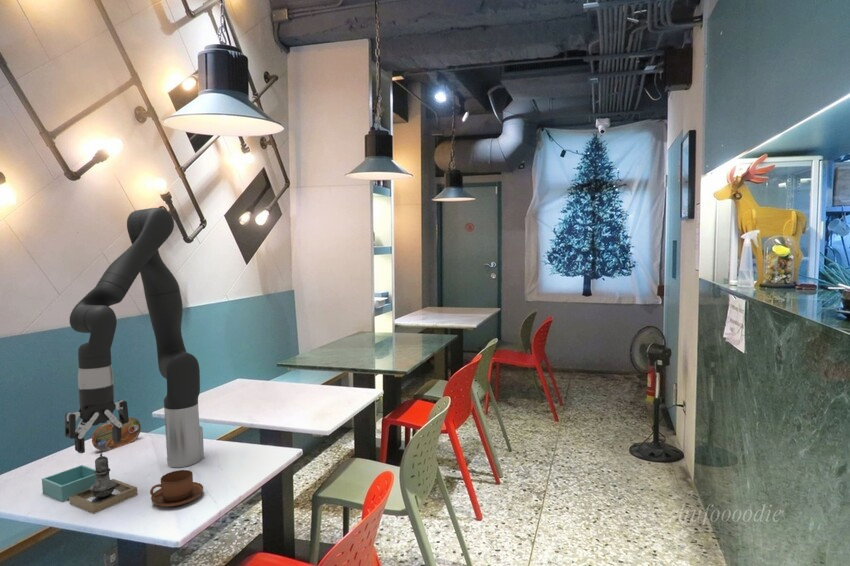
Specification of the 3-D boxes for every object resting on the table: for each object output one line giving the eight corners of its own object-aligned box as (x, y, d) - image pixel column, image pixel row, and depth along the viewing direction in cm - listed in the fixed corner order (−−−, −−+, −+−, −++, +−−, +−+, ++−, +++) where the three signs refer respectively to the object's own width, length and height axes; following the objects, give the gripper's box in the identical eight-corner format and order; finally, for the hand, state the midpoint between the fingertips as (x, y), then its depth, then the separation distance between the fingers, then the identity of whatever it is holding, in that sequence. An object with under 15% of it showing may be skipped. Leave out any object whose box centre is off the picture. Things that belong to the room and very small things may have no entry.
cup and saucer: (169, 515, 126) (168, 490, 125) (141, 503, 132) (140, 480, 132) (213, 495, 136) (212, 472, 135) (185, 485, 142) (184, 462, 142)
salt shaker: (104, 505, 131) (101, 458, 130) (84, 503, 132) (81, 457, 132) (122, 494, 137) (119, 449, 136) (103, 493, 138) (100, 448, 137)
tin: (96, 455, 165) (95, 428, 164) (90, 453, 166) (89, 427, 166) (142, 439, 178) (140, 414, 178) (136, 437, 180) (134, 413, 179)
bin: (83, 478, 147) (82, 464, 147) (103, 486, 142) (102, 471, 142) (42, 493, 139) (41, 478, 138) (62, 502, 134) (61, 486, 133)
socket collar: (113, 486, 142) (113, 478, 142) (137, 494, 137) (137, 487, 137) (69, 503, 133) (69, 495, 133) (93, 513, 127) (92, 505, 127)
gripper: (116, 376, 141) (119, 436, 142) (57, 388, 129) (60, 453, 130) (132, 379, 137) (135, 440, 138) (73, 392, 125) (76, 459, 126)
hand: (99, 447), depth 134 cm, fingers open, 8 cm apart
